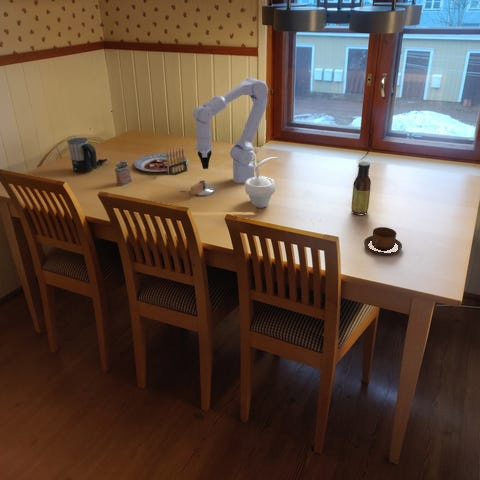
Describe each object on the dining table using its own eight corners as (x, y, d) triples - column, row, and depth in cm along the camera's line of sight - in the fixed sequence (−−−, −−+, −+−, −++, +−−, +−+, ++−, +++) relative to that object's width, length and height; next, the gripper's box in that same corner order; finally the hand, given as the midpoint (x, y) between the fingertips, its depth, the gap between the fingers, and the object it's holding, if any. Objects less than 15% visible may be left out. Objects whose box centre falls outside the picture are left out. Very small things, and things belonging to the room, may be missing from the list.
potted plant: (243, 210, 185) (242, 147, 174) (247, 198, 196) (246, 138, 184) (276, 211, 184) (277, 148, 172) (278, 199, 194) (279, 139, 182)
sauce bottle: (355, 208, 186) (361, 158, 177) (370, 212, 182) (376, 162, 173) (347, 213, 182) (352, 163, 172) (362, 218, 178) (368, 167, 169)
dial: (199, 185, 206) (199, 175, 204) (219, 189, 202) (219, 179, 200) (183, 194, 197) (182, 184, 195) (203, 199, 193) (202, 189, 190)
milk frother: (69, 173, 225) (63, 142, 218) (84, 162, 239) (79, 133, 232) (97, 174, 223) (92, 143, 216) (111, 163, 237) (106, 134, 230)
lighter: (127, 179, 216) (125, 158, 212) (133, 181, 215) (130, 159, 210) (115, 185, 210) (112, 163, 206) (120, 186, 209) (117, 165, 204)
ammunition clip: (169, 177, 219) (167, 151, 213) (167, 176, 220) (164, 150, 214) (187, 171, 226) (185, 146, 220) (184, 170, 227) (183, 145, 221)
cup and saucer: (399, 260, 151) (402, 243, 148) (360, 254, 155) (362, 237, 152) (402, 243, 160) (405, 227, 158) (366, 237, 164) (368, 221, 162)
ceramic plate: (180, 176, 220) (179, 170, 218) (126, 174, 224) (126, 168, 222) (193, 158, 242) (193, 153, 241) (145, 156, 246) (144, 151, 245)
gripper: (194, 132, 201) (196, 163, 207) (193, 142, 188) (195, 174, 194) (210, 131, 201) (212, 162, 207) (211, 141, 188) (213, 174, 195)
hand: (205, 168), depth 201 cm, fingers closed
